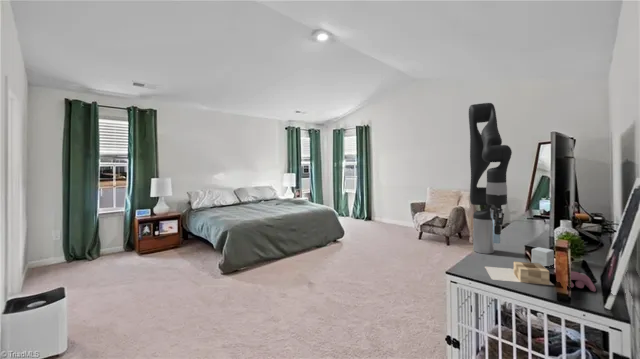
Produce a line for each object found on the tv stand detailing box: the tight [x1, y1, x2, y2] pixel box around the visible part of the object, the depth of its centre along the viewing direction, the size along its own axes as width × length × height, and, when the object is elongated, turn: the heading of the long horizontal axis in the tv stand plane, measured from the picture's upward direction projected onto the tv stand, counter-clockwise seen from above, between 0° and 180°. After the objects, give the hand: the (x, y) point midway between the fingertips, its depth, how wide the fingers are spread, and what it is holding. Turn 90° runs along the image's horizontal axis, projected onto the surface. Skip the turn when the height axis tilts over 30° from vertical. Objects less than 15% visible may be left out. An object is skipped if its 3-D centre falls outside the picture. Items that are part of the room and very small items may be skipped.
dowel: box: [493, 217, 501, 245], centre depth 122 cm, size 3×3×12 cm
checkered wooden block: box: [513, 261, 550, 286], centre depth 112 cm, size 9×9×5 cm
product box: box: [530, 246, 555, 266], centre depth 126 cm, size 6×6×7 cm
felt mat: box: [484, 266, 554, 286], centre depth 116 cm, size 15×20×1 cm
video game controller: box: [570, 271, 596, 293], centre depth 104 cm, size 10×5×7 cm, turn 77°
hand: (496, 233), depth 122 cm, fingers closed on dowel, 2 cm apart
